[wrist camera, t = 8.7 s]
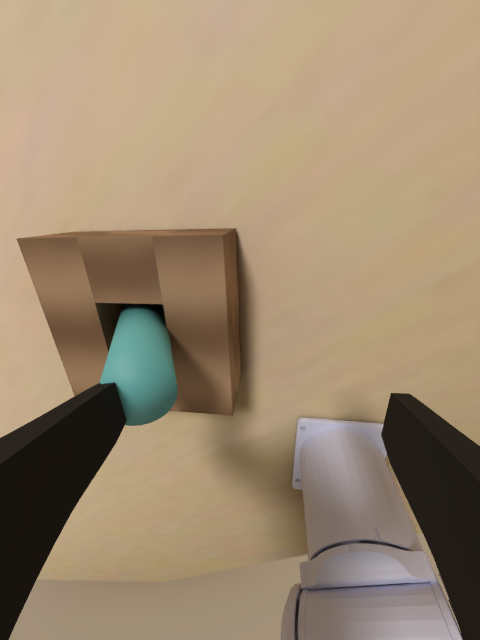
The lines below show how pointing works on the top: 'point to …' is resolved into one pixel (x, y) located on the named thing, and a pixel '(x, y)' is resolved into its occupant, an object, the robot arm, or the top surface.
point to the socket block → (144, 288)
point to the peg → (142, 364)
